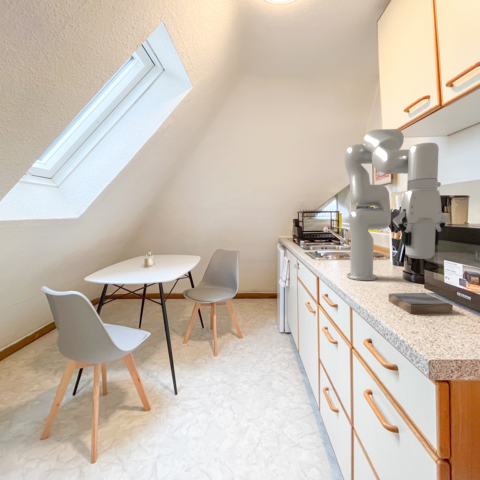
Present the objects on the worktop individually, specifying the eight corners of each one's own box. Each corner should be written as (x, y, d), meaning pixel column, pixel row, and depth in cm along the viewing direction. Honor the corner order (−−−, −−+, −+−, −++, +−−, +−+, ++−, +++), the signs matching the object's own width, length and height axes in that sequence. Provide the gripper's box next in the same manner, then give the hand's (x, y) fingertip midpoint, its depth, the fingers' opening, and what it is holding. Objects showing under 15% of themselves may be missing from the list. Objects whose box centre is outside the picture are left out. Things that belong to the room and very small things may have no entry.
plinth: (388, 302, 92) (388, 293, 91) (424, 302, 92) (425, 292, 91) (410, 315, 80) (410, 304, 80) (452, 314, 80) (452, 303, 79)
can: (439, 259, 80) (441, 218, 79) (411, 259, 82) (412, 218, 81) (427, 255, 87) (428, 217, 86) (401, 255, 89) (402, 218, 88)
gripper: (442, 187, 86) (439, 243, 88) (386, 188, 86) (385, 244, 88) (460, 184, 79) (458, 245, 80) (399, 185, 79) (398, 247, 80)
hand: (420, 244), depth 84 cm, fingers closed on can, 7 cm apart
